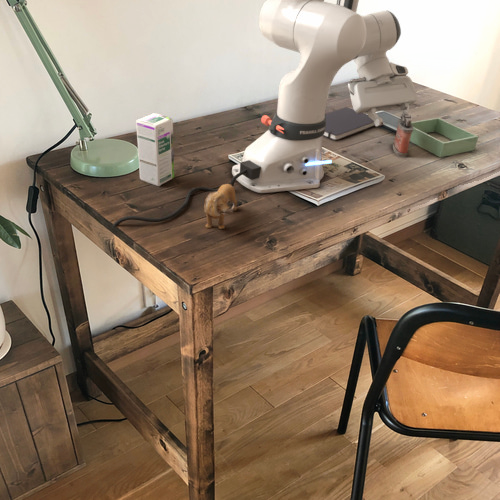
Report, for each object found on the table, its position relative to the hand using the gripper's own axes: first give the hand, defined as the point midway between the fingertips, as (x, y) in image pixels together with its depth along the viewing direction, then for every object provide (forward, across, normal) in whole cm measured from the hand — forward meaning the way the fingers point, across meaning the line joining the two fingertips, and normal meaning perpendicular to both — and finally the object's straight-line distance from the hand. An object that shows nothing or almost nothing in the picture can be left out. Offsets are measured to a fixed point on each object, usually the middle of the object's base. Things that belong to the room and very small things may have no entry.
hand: (393, 122), depth 154 cm
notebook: (-7, -4, +16) cm, 18 cm away
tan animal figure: (+18, -61, -9) cm, 64 cm away
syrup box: (+1, -66, +8) cm, 67 cm away
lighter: (+8, 0, +1) cm, 8 cm away
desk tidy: (+8, +14, +1) cm, 16 cm away
